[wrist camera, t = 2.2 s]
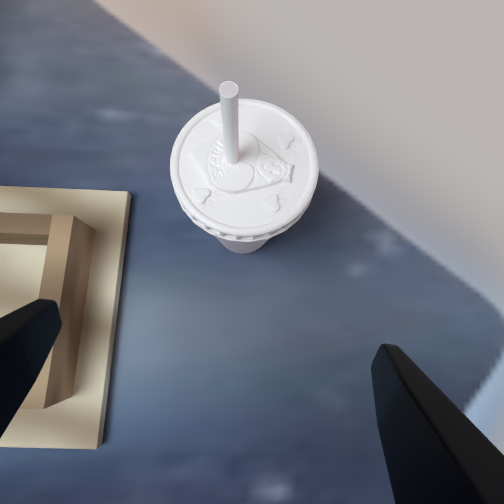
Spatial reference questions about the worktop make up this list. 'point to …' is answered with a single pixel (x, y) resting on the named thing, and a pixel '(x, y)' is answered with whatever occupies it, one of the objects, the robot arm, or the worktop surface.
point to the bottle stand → (65, 304)
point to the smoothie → (243, 170)
